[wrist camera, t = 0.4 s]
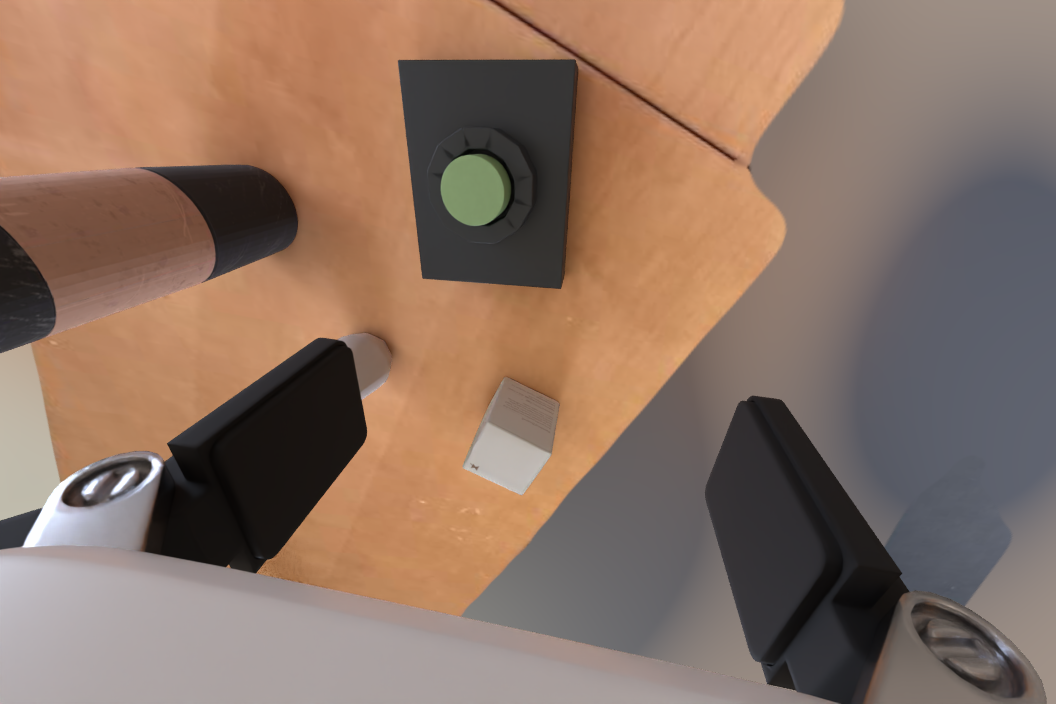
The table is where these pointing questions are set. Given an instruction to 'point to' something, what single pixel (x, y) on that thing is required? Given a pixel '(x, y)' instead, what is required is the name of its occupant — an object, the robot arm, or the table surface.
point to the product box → (514, 437)
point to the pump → (475, 189)
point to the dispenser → (515, 142)
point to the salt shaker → (369, 361)
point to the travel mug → (127, 239)
